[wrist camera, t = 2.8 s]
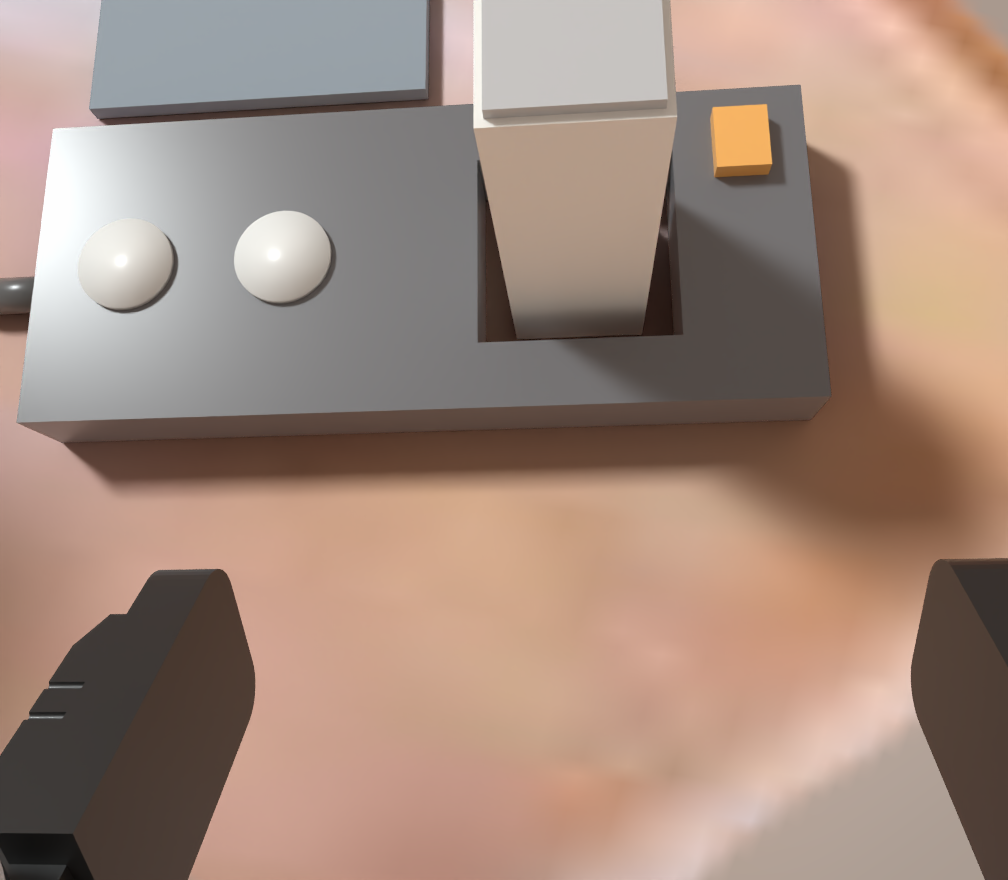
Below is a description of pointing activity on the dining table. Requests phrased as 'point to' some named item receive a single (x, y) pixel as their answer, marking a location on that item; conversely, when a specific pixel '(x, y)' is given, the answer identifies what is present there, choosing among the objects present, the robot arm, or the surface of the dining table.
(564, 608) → the dining table surface
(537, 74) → the white tall rectangular block
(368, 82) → the mat
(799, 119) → the power strip
